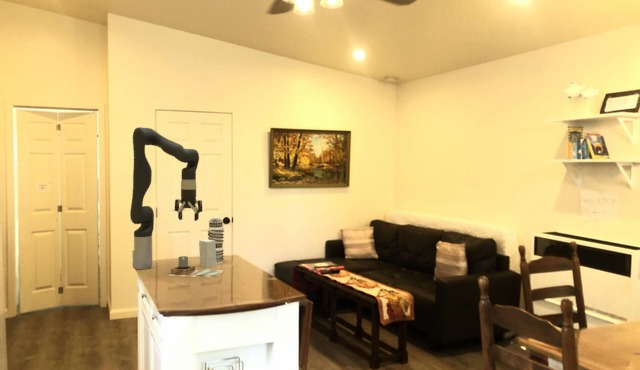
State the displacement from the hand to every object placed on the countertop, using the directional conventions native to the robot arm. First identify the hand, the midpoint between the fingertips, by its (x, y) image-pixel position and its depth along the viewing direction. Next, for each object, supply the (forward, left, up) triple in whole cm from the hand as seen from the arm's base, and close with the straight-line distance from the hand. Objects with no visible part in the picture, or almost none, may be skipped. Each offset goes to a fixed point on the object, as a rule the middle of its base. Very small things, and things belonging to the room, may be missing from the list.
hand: (188, 220), depth 243 cm
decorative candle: (+4, +29, -28) cm, 41 cm away
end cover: (-2, -2, -27) cm, 27 cm away
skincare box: (+4, +16, -28) cm, 33 cm away
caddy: (+4, -2, -28) cm, 28 cm away
